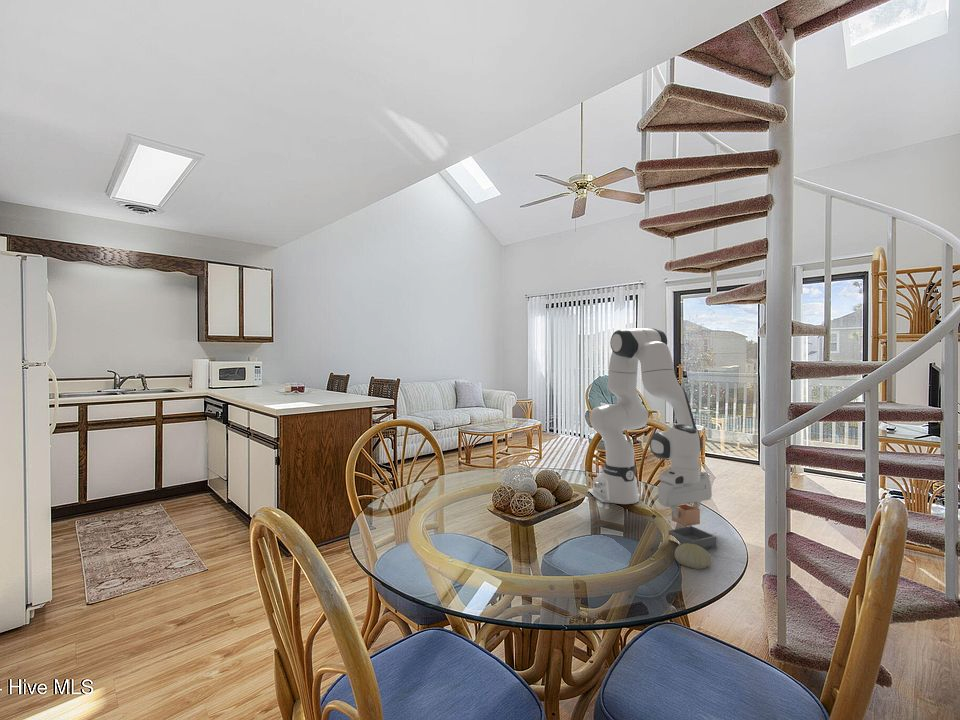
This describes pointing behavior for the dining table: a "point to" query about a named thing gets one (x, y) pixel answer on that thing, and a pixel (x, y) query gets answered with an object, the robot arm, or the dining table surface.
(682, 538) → the charcoal crate
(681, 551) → the sea urchin shell
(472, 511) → the dining table surface
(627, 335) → the robot arm
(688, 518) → the terracotta crate
